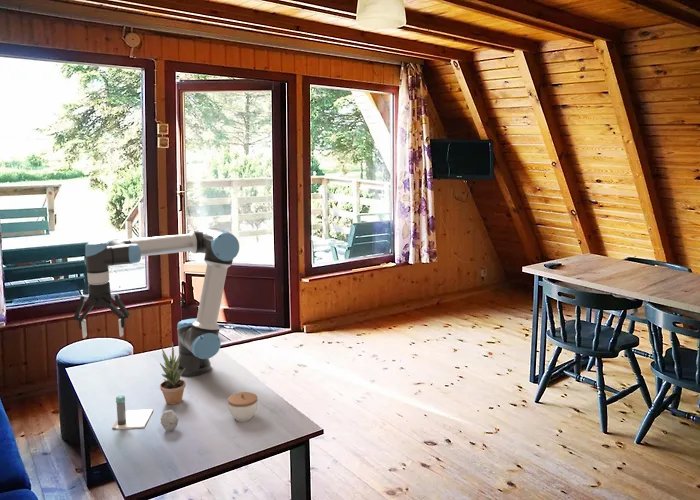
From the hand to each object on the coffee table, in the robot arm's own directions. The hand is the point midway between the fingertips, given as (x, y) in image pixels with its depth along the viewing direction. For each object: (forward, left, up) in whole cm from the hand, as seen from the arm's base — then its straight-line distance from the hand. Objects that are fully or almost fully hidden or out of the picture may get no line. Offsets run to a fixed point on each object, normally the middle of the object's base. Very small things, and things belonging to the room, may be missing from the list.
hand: (103, 336), depth 227 cm
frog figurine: (-29, +27, -27) cm, 48 cm away
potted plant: (-26, +2, -27) cm, 37 cm away
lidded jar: (-54, +20, -27) cm, 63 cm away
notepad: (-14, +17, -27) cm, 35 cm away
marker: (-11, +21, -26) cm, 35 cm away
